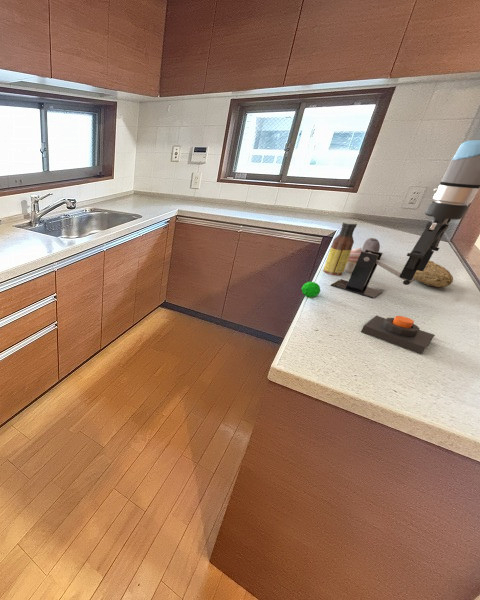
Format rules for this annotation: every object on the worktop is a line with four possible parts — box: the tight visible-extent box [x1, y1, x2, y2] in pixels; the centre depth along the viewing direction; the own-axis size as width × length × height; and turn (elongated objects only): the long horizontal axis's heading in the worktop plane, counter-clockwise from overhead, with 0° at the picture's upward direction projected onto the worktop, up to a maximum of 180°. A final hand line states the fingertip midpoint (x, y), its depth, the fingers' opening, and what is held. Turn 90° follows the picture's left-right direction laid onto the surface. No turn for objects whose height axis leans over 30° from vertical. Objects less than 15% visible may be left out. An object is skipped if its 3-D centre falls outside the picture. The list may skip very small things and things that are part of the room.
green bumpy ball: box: [301, 281, 321, 298], centre depth 105 cm, size 5×5×5 cm
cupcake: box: [343, 247, 363, 274], centre depth 125 cm, size 9×9×10 cm
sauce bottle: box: [322, 221, 358, 277], centre depth 120 cm, size 7×6×20 cm
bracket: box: [330, 249, 384, 299], centre depth 108 cm, size 12×9×14 cm
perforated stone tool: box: [362, 237, 381, 252], centre depth 145 cm, size 15×5×7 cm, turn 145°
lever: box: [368, 252, 415, 286], centre depth 103 cm, size 14×6×2 cm, turn 35°
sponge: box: [413, 260, 454, 288], centre depth 119 cm, size 13×8×20 cm
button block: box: [360, 315, 435, 355], centre depth 84 cm, size 12×10×4 cm
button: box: [392, 315, 415, 328], centre depth 82 cm, size 4×4×2 cm
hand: (411, 274), depth 99 cm, fingers open, 13 cm apart
